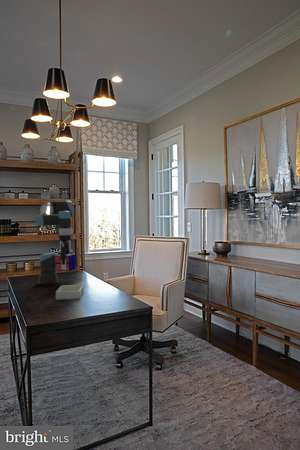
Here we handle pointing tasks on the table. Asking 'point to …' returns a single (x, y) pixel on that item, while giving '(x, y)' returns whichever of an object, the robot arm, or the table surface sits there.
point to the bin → (69, 292)
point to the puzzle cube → (69, 262)
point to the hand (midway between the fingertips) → (65, 268)
